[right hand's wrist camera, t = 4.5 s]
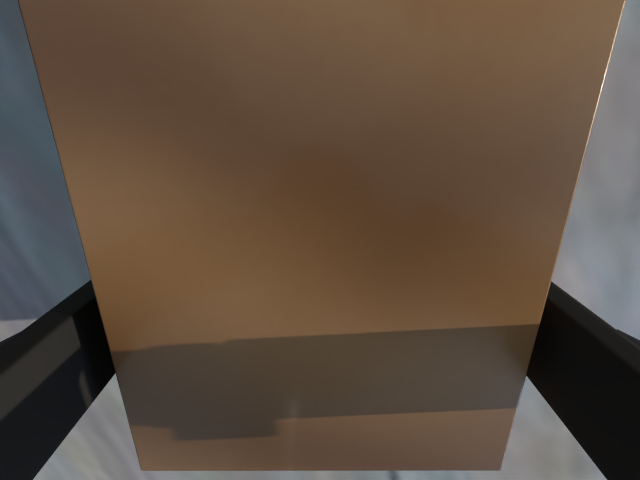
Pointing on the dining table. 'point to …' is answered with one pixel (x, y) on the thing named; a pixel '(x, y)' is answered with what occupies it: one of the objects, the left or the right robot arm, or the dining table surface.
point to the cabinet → (321, 215)
